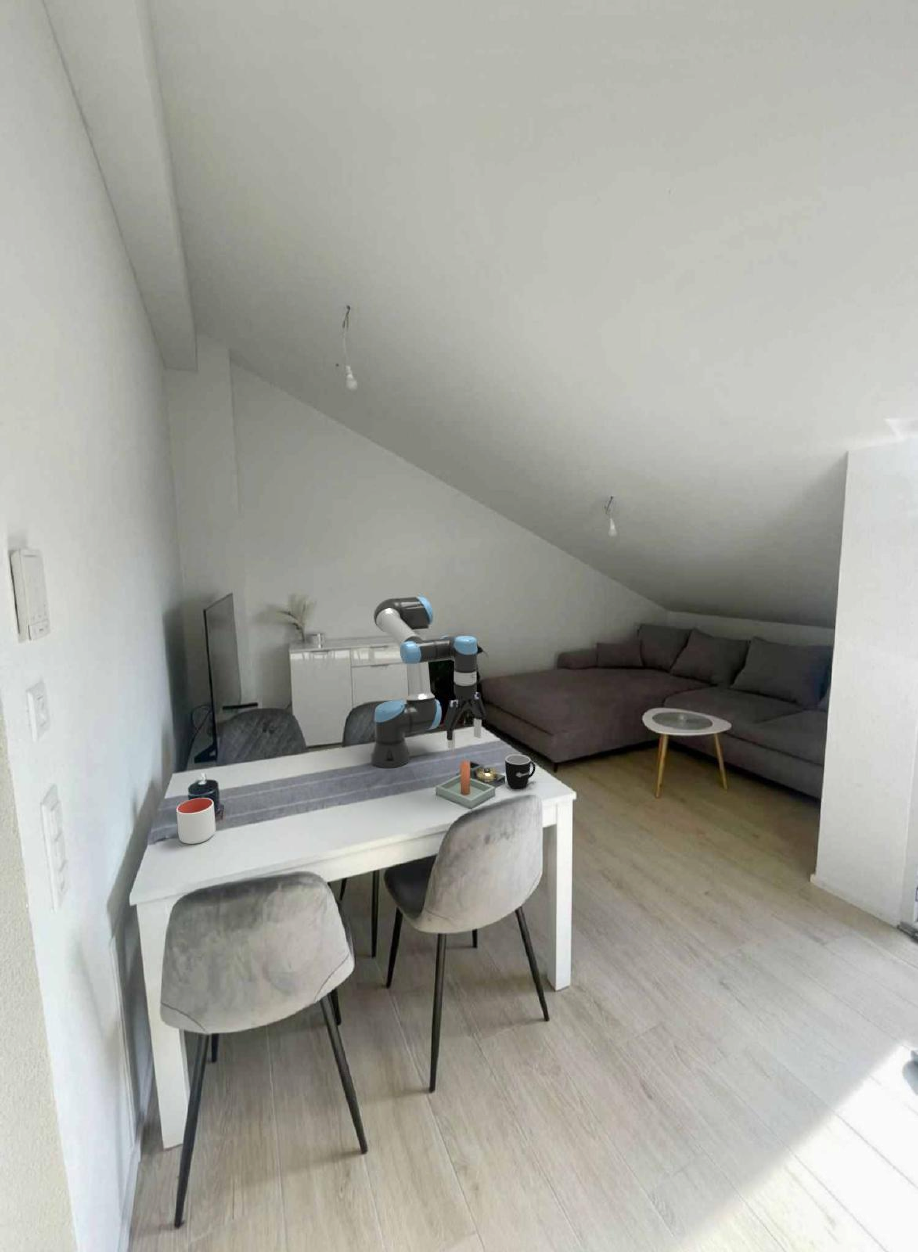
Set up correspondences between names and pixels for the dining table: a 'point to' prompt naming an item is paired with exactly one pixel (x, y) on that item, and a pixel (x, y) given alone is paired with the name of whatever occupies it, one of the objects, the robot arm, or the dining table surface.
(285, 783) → the dining table surface
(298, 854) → the dining table surface
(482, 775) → the pulley block
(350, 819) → the dining table surface
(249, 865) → the dining table surface
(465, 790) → the pin
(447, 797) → the tray
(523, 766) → the mug
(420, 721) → the robot arm
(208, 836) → the cup
